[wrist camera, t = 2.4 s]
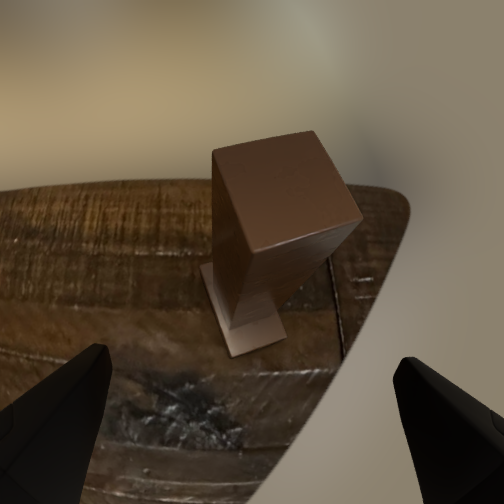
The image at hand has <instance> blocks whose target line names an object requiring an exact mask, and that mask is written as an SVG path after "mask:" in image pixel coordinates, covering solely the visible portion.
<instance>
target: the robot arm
mask: <svg viewBox="0 0 504 504" xmlns="http://www.w3.org/2000/svg"><path fill="white" fill-rule="evenodd" d="M111 375H112V362H111V358H110V354H109V349H108V347H107V346H106V345H103V344H97V343H94V344H92V345H91V346H89V347H88V348H86V349H85V350H84V351H82V352H81V353H80V354H78V355H77V356H75V357H74V358H73V359H71V360H70V361H68V362H67V363H66V364H64V365H63V366H62V367H60V368H59V369H57V370H56V371H55V372H53V373H52V374H50V375H49V376H48V377H46V378H45V379H44V380H42V381H41V382H40V383H38V384H37V385H35V386H34V387H33V388H31V389H30V390H29V391H27V392H26V393H25V394H23V395H22V396H20V397H19V398H18V399H16V400H15V401H14V402H13V404H12V403H11V404H10V405H8V406H7V407H5V408H4V409H3V410H1V411H0V504H79V502H80V497H81V493H82V489H83V485H84V481H85V477H86V473H87V470H88V466H89V462H90V459H91V455H92V452H93V448H94V445H95V441H96V438H97V435H98V431H99V428H100V425H101V422H102V418H103V414H104V410H105V405H106V399H107V394H108V389H109V385H110V380H111ZM393 384H394V389H395V394H396V398H397V403H398V408H399V413H400V418H401V422H402V425H403V428H404V432H405V435H406V439H407V442H408V445H409V449H410V452H411V456H412V460H413V463H414V467H415V471H416V474H417V478H418V482H419V486H420V490H421V494H422V498H423V503H424V504H504V418H503V417H501V416H500V415H498V414H497V413H495V412H494V411H492V410H490V409H489V408H488V407H486V406H485V405H484V404H482V403H481V402H479V401H478V400H476V399H475V398H474V397H472V396H471V395H469V394H468V393H466V392H465V391H463V390H462V389H460V388H459V387H458V386H456V385H455V384H453V383H452V382H450V381H449V380H447V379H446V378H445V377H443V376H442V375H440V374H439V373H437V372H436V371H434V370H433V369H432V368H430V367H429V366H427V365H425V364H424V363H423V362H421V361H420V360H418V359H417V358H415V357H405V358H403V359H402V360H401V362H400V364H399V366H398V368H397V370H396V371H395V374H394V376H393Z"/></svg>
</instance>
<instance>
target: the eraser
mask: <svg viewBox="0 0 504 504" xmlns="http://www.w3.org/2000/svg"><path fill="white" fill-rule="evenodd" d="M362 220H363V216H362V214H361V212H360V210H359V209H358V207H357V205H356V203H355V201H354V199H353V197H352V195H351V194H350V192H349V190H348V188H347V186H346V185H345V183H344V181H343V179H342V177H341V176H340V174H339V172H338V170H337V169H336V167H335V165H334V164H333V162H332V160H331V158H330V157H329V155H328V153H327V152H326V150H325V148H324V147H323V145H322V143H321V142H320V140H319V139H318V137H317V135H316V134H315V132H314V131H306V132H299V133H294V134H287V135H282V136H276V137H271V138H266V139H260V140H255V141H251V142H246V143H241V144H236V145H232V146H227V147H223V148H218V149H214V150H213V151H212V256H213V261H211V262H208V263H205V264H202V265H200V266H199V269H200V275H201V278H202V281H203V284H204V287H205V290H206V293H207V296H208V299H209V302H210V305H211V308H212V310H213V313H214V316H215V319H216V322H217V325H218V327H219V330H220V333H221V336H222V338H223V341H224V344H225V347H226V349H227V352H228V355H229V358H230V359H232V358H235V357H238V356H241V355H244V354H246V353H249V352H252V351H255V350H257V349H260V348H263V347H266V346H268V345H271V344H274V343H276V342H279V341H281V340H284V339H286V338H287V334H286V331H285V328H284V326H283V323H282V321H281V318H280V316H279V313H278V311H277V310H278V309H279V308H280V307H281V306H282V305H283V304H284V303H285V302H286V301H287V300H288V299H289V297H290V296H291V295H292V294H293V293H294V292H295V291H296V290H297V289H298V288H299V287H300V286H301V285H302V284H303V283H304V282H305V281H306V280H307V279H308V278H309V277H310V276H311V275H312V274H313V273H314V272H315V271H316V270H317V269H318V268H319V266H320V265H321V264H322V263H323V262H324V261H325V260H326V259H327V258H328V257H329V256H330V255H331V254H332V253H333V252H334V251H335V249H336V248H337V247H338V246H339V245H340V244H341V243H342V242H343V241H344V240H345V239H346V238H347V236H348V235H349V234H350V233H351V232H352V231H353V230H354V229H355V228H356V227H357V225H358V224H359V223H360V222H361V221H362Z"/></svg>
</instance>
